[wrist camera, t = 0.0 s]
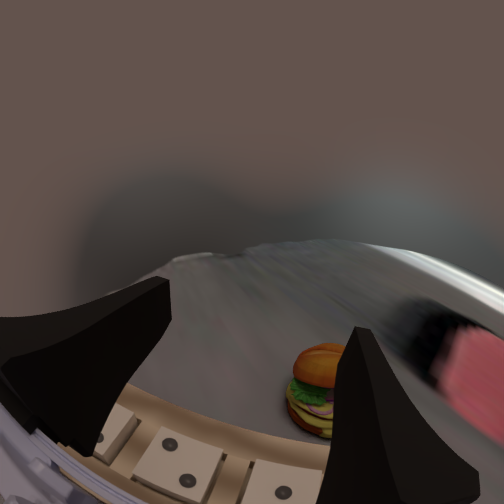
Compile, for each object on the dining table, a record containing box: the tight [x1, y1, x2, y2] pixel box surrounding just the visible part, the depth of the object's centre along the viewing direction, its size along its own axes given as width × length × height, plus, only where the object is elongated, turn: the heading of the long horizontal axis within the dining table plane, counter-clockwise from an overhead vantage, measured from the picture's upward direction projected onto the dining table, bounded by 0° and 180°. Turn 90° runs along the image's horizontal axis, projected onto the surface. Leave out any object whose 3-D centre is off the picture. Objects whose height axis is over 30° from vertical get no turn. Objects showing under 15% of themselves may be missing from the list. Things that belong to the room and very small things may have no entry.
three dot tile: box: [93, 403, 138, 465], centre depth 19 cm, size 6×6×3 cm
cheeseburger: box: [286, 343, 345, 438], centre depth 29 cm, size 10×11×10 cm
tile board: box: [57, 383, 330, 504], centre depth 18 cm, size 14×28×3 cm, turn 75°
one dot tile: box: [240, 459, 322, 504], centre depth 16 cm, size 6×6×3 cm
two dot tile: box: [132, 426, 223, 504], centre depth 17 cm, size 6×6×3 cm
